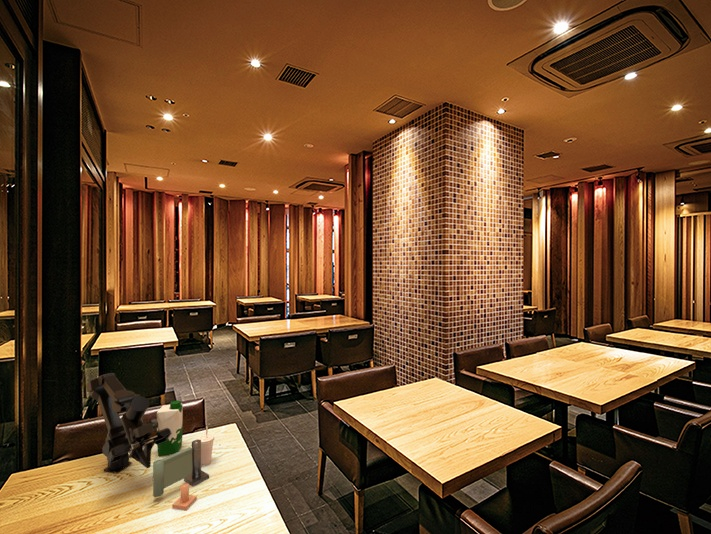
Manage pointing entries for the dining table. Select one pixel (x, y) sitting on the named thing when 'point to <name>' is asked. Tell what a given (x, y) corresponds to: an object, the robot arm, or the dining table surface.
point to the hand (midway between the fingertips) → (148, 467)
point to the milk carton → (170, 427)
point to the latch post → (184, 498)
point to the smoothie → (206, 447)
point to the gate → (171, 470)
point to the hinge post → (196, 466)
